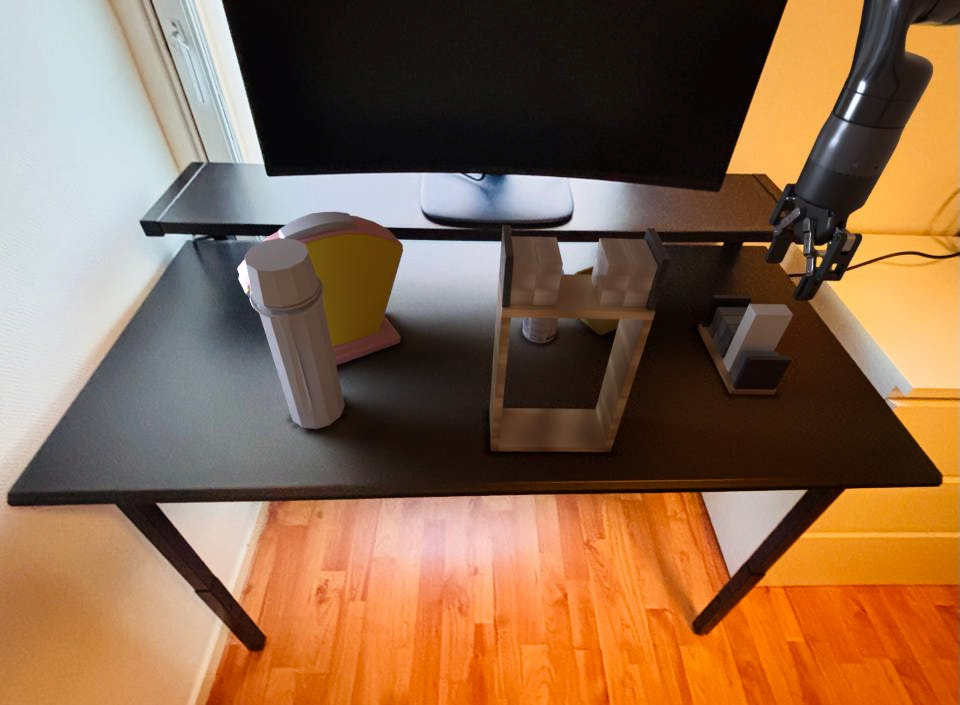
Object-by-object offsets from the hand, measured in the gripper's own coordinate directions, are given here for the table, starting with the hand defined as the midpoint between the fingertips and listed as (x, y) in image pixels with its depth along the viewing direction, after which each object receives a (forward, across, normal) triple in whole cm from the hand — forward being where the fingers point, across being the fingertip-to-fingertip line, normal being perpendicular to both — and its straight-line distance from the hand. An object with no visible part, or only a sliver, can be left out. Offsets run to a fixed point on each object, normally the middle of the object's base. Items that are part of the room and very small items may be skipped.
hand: (785, 279), depth 70 cm
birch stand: (+17, -12, +31) cm, 37 cm away
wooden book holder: (-5, -12, +31) cm, 34 cm away
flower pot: (+17, +11, +19) cm, 28 cm away
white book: (+16, 0, 0) cm, 16 cm away
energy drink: (+17, +8, +30) cm, 36 cm away
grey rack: (+17, +3, 0) cm, 17 cm away
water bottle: (+17, -10, +62) cm, 65 cm away
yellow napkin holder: (+17, +5, +62) cm, 64 cm away
